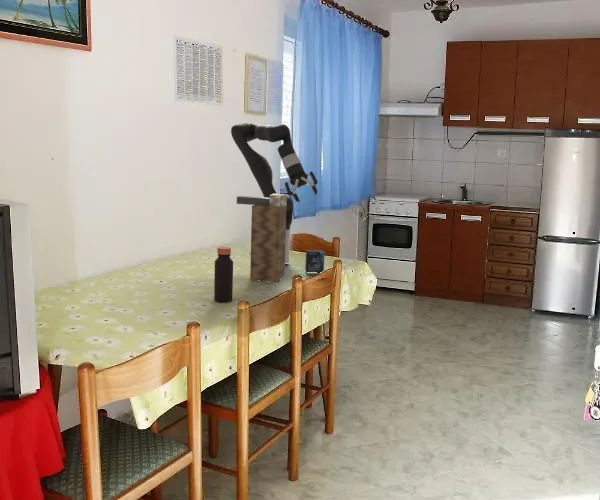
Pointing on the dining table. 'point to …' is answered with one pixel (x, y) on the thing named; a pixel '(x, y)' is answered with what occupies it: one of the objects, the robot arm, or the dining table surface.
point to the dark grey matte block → (253, 200)
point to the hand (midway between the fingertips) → (307, 198)
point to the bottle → (223, 276)
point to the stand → (268, 239)
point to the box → (314, 261)
